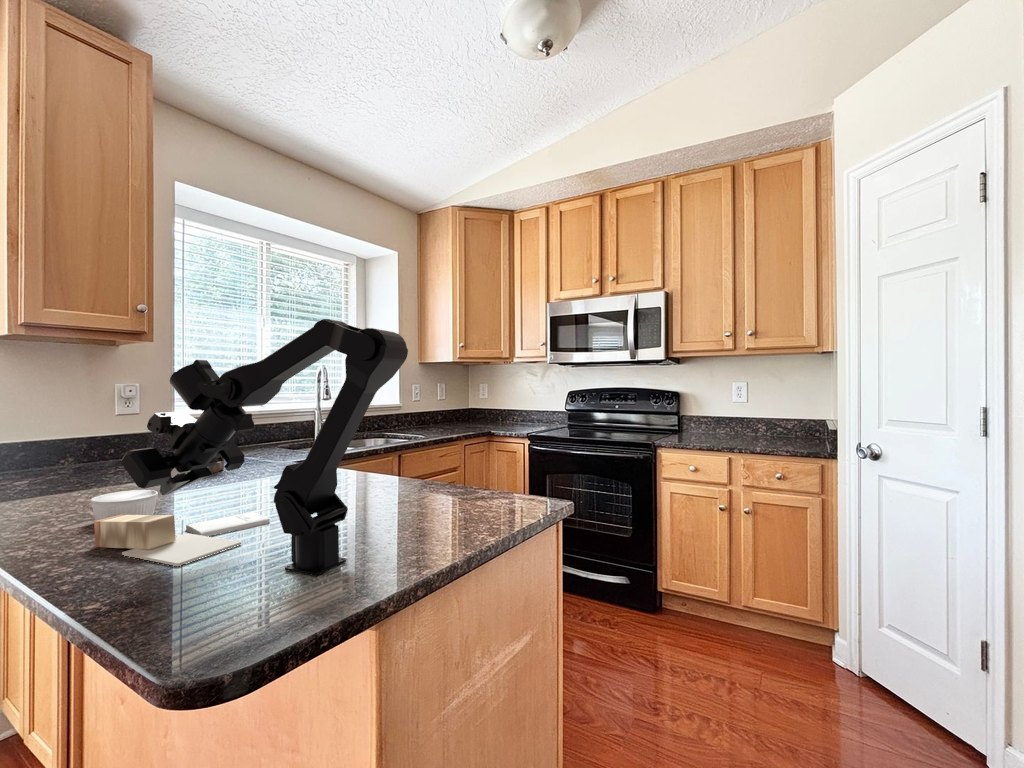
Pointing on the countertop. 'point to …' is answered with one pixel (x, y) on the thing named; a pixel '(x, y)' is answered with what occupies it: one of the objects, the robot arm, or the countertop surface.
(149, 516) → the post
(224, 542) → the mat
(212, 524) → the external hard drive
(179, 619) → the countertop surface
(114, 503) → the ramekin
